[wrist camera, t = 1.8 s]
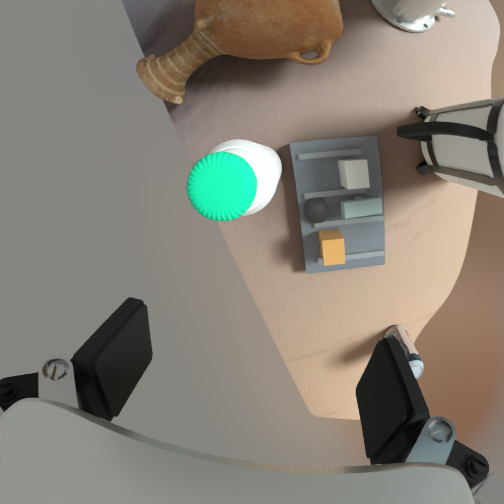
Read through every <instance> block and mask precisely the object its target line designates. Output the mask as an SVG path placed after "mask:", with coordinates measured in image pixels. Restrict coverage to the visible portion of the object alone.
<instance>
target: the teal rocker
mask: <svg viewBox="0 0 504 504" xmlns="http://www.w3.org/2000/svg"><path fill="white" fill-rule="evenodd" d="M340 203H341V215H342V217H343V218H345V219H348V218H354V217H361V216H367V215H373V214H379V213H382V199H381V198H380V197H370V198H362V199H355V200H348V201H341V202H340Z"/></svg>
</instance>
